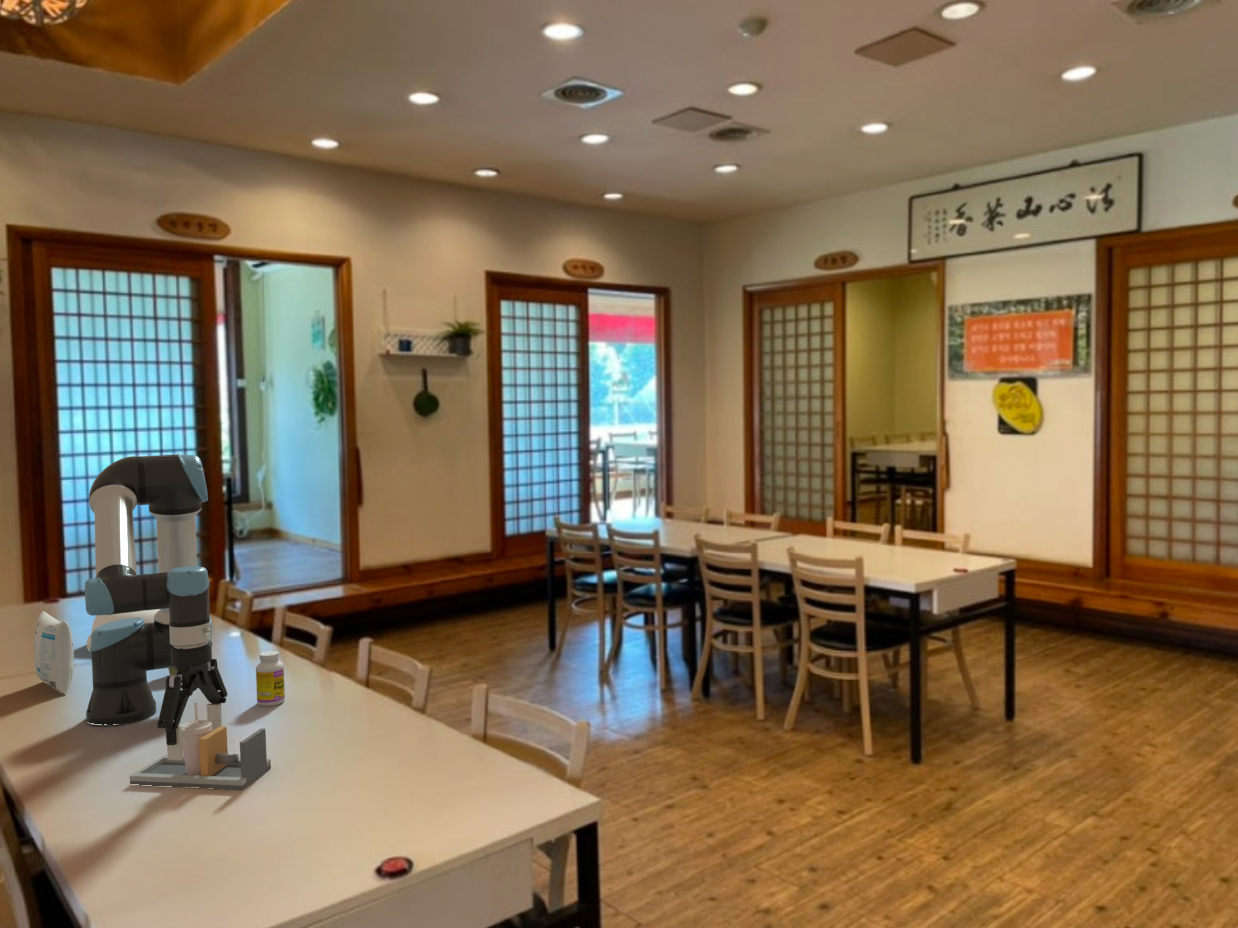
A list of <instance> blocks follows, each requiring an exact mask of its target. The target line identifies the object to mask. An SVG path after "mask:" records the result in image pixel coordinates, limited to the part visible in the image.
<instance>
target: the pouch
mask: <svg viewBox="0 0 1238 928" xmlns="http://www.w3.org/2000/svg"><path fill="white" fill-rule="evenodd" d="M33 637H34V638H33V641H34V642H33V646H34V648H33V649H34V650H33V651H34V652H33V653H34V654H33V659H34V667H35V672H36V675H37V677H38V678H39V680H41V682H44V681H45V682H46V683H47V684H48V685H49V686H51V687H53V688H54V689H55V690H56V691H58V692H59V693H61V694H62V693H68V692H69V690H70V688H71V684H72V680H73V673H74V665H75V664H74V663H75V662H74V661H75V659H74V657H75V655H74V653H75V652H74V639H73V638H74V637H73V634H72V630H71V627H70V625H69V623H67V621H65V620H62V621H59V620H58V619H56V618H55V617H53V616H52V615H50V614H49V613H47V612H45V611H44V610H42V611H41V613H40V614H39V616H38V618H37V621H36V625H35V631H34V636H33Z"/></svg>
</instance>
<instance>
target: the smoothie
mask: <svg viewBox="0 0 1238 928" xmlns="http://www.w3.org/2000/svg"><path fill="white" fill-rule="evenodd" d="M193 704H194V705H193V706H194V720H192V721H188V722H185V723H182V724H179V725H178V727H181V729H182V750H183V756H184V760H185V766H186V771H187V774H188V775H200V774H201V766H200V745H199V739H200V738H202V737H203V736H205V735H206V734H208V733H210V730H211V729H212V723H211V722H210V721H207V719H205V720H204V719H202V720H201V719H200V720H199V713H198V712H199V710H198V709H199V708H198V703H197V702H196V703H193Z"/></svg>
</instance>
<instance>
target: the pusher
mask: <svg viewBox="0 0 1238 928" xmlns="http://www.w3.org/2000/svg"><path fill="white" fill-rule="evenodd" d="M227 734H228V730H227V726H224V725H223V726H220V727H218V728H216V729H215V730H213V731H211V732H210V733H208V734H206V735H205V736H203V737H202V738H200V739H199V745H200V766H201V776H212V775H214V774H215V773H217V772H218V771H220V770H221V769H222V768H224V767H225V766H227V765H228V764H237V763H238V760H239V758H240V754H238V753H229V752H228V750H229V749H228V735H227Z"/></svg>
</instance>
